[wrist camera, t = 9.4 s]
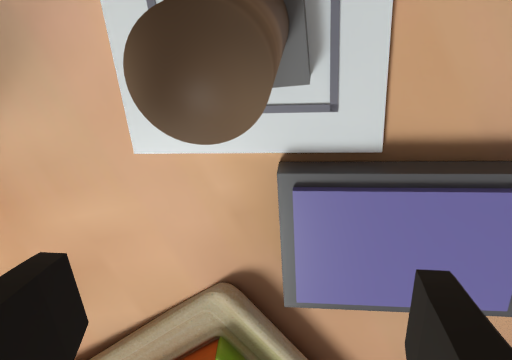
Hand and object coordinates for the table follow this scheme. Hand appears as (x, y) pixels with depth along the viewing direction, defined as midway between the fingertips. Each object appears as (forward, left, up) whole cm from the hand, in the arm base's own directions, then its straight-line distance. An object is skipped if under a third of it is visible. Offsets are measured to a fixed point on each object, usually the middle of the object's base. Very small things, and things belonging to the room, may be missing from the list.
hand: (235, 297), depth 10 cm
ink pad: (-5, +5, -10) cm, 12 cm away
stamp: (+1, -4, -9) cm, 10 cm away
